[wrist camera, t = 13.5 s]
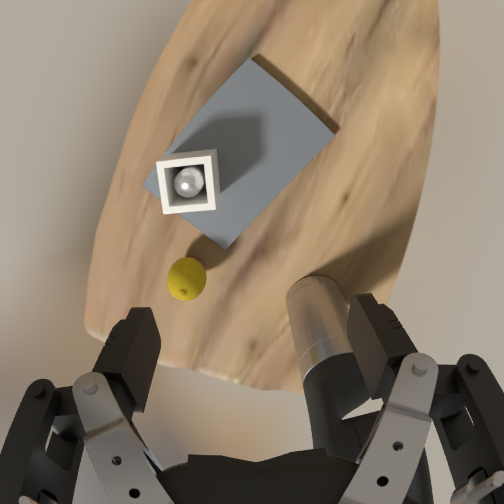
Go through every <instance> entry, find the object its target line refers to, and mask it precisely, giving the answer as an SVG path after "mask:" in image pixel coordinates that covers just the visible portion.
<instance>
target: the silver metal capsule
mask: <svg viewBox="0 0 504 504" xmlns="http://www.w3.org/2000/svg"><path fill="white" fill-rule="evenodd" d="M205 181H206V180H205V169H204V164H197V165H187V166H186V167H185V168H184V169H183V170H182V171H181V172H179V173H178V174H177V176H176V177H175V180H174V187H175V190H176V191H177V193H178V194H179V195H181V196H183V197H187V198H190V197H194V196H196V195H197V194H198V193H199V192H200V190H201V189H202V187H203V185H204V183H205Z"/></svg>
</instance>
